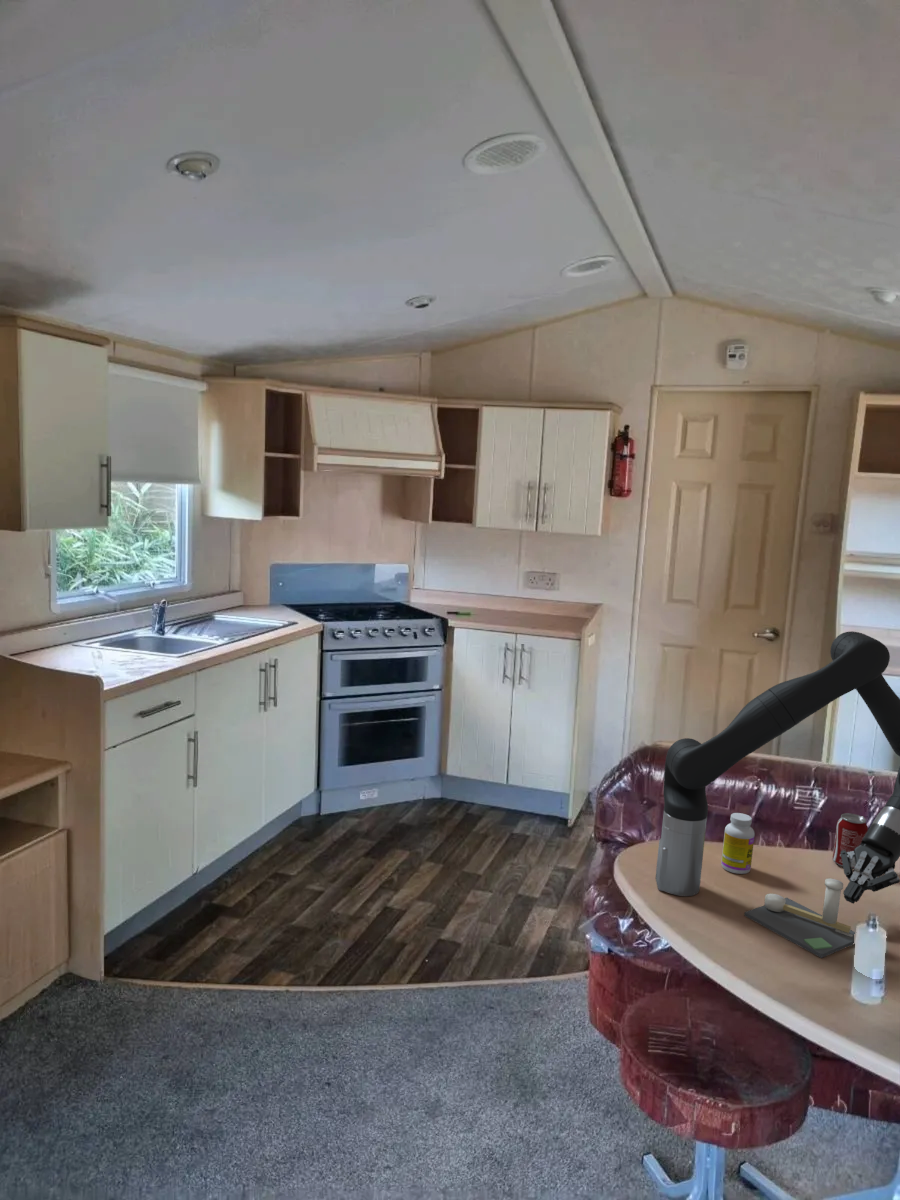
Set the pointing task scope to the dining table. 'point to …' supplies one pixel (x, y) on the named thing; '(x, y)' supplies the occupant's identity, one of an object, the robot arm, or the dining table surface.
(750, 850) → the supplement bottle
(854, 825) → the soda can
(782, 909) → the domed post with rod
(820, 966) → the dining table surface
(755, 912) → the dark grey base plate
